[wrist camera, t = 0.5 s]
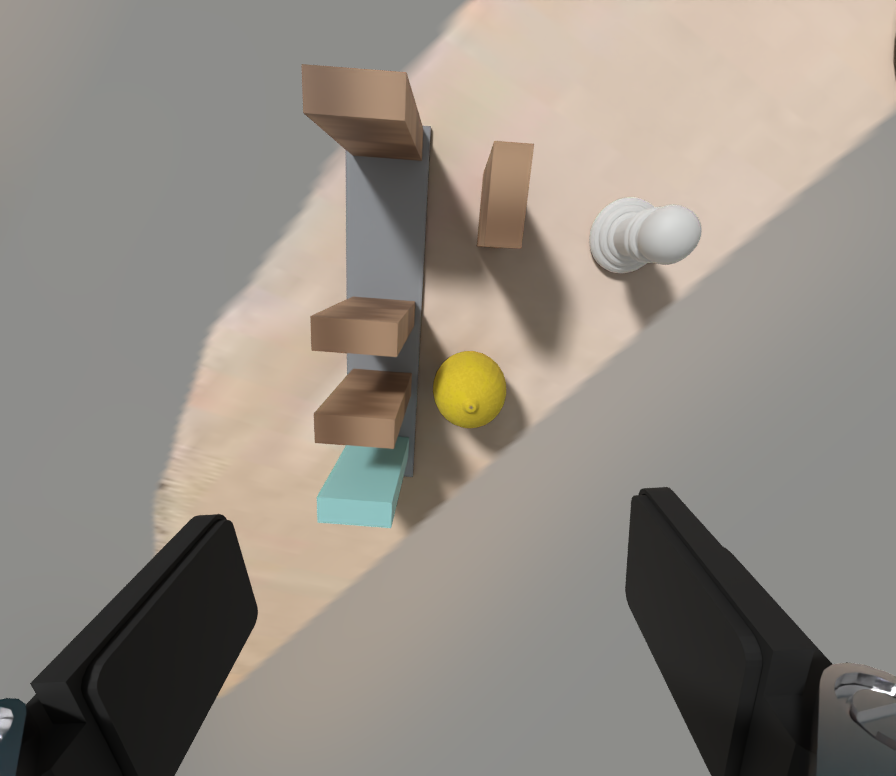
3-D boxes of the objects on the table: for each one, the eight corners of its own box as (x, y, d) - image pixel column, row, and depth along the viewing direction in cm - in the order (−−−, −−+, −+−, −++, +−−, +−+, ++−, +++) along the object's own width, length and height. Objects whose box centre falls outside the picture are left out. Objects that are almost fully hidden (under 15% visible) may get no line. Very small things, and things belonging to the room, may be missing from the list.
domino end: (408, 437, 37) (391, 502, 27) (408, 457, 38) (391, 528, 28) (353, 433, 37) (316, 496, 27) (353, 452, 38) (317, 522, 28)
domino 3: (412, 373, 35) (394, 419, 26) (411, 395, 36) (393, 448, 26) (353, 368, 35) (313, 413, 26) (352, 390, 36) (314, 442, 26)
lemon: (513, 380, 35) (528, 416, 28) (460, 415, 36) (460, 459, 29) (476, 328, 34) (481, 351, 26) (422, 365, 35) (412, 398, 28)
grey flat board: (430, 127, 29) (430, 126, 29) (412, 475, 38) (412, 476, 38) (346, 121, 29) (345, 119, 29) (348, 470, 38) (347, 472, 38)
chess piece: (623, 286, 33) (681, 301, 24) (572, 243, 32) (614, 242, 23) (674, 228, 31) (755, 222, 23) (622, 182, 30) (687, 156, 22)
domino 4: (483, 174, 30) (494, 140, 21) (510, 176, 30) (534, 144, 21) (476, 246, 32) (484, 245, 22) (502, 248, 32) (521, 248, 22)
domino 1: (423, 128, 29) (406, 72, 20) (421, 160, 30) (404, 120, 20) (352, 123, 29) (301, 64, 20) (352, 155, 30) (303, 112, 20)
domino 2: (415, 301, 33) (397, 323, 24) (414, 326, 34) (396, 357, 24) (352, 296, 33) (310, 316, 24) (353, 321, 34) (311, 350, 24)
